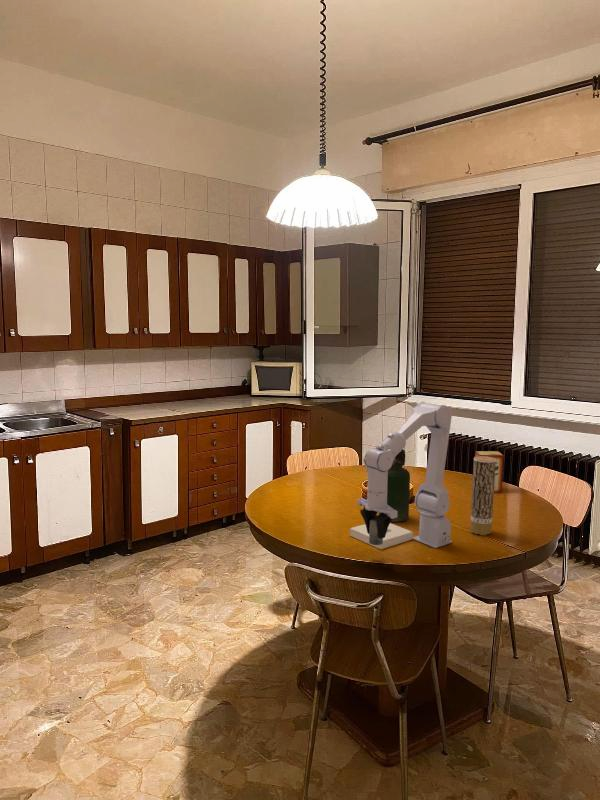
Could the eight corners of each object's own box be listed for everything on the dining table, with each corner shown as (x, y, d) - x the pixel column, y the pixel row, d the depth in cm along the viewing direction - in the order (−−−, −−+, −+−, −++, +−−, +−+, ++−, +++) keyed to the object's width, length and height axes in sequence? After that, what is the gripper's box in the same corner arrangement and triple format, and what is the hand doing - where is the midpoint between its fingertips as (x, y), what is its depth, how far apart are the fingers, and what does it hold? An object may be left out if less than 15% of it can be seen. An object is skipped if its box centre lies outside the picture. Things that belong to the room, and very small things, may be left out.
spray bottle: (375, 513, 217) (377, 445, 214) (404, 512, 218) (406, 444, 215) (382, 523, 207) (384, 452, 204) (412, 522, 208) (414, 451, 204)
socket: (412, 539, 193) (412, 531, 192) (380, 549, 184) (380, 541, 184) (381, 526, 204) (381, 519, 203) (350, 535, 195) (350, 528, 195)
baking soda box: (477, 492, 243) (479, 454, 241) (473, 488, 250) (475, 450, 247) (501, 493, 243) (503, 454, 241) (496, 488, 249) (498, 450, 247)
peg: (385, 542, 176) (386, 519, 175) (375, 546, 174) (376, 522, 173) (376, 538, 180) (376, 516, 178) (366, 541, 177) (366, 518, 176)
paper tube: (467, 528, 203) (471, 455, 199) (488, 529, 202) (492, 456, 199) (473, 536, 196) (476, 460, 192) (494, 536, 196) (498, 461, 192)
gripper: (350, 486, 178) (349, 531, 180) (385, 499, 166) (384, 546, 168) (367, 482, 182) (366, 526, 184) (403, 494, 171) (401, 540, 173)
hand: (376, 535), depth 176 cm, fingers closed on peg, 4 cm apart
